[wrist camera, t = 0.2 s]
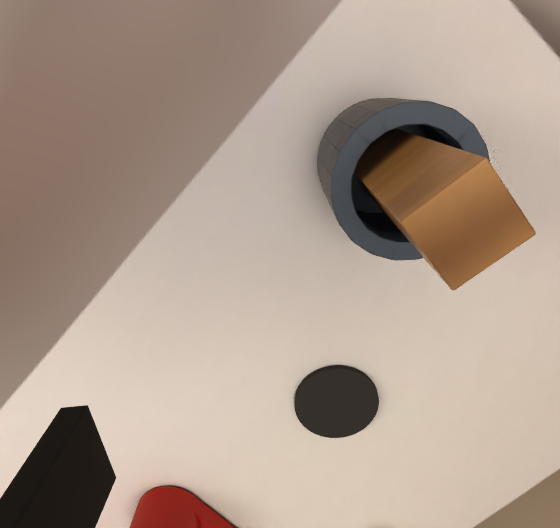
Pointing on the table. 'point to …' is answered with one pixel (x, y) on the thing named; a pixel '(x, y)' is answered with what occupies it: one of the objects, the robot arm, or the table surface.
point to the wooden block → (443, 203)
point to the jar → (352, 144)
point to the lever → (174, 511)
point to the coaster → (336, 401)
